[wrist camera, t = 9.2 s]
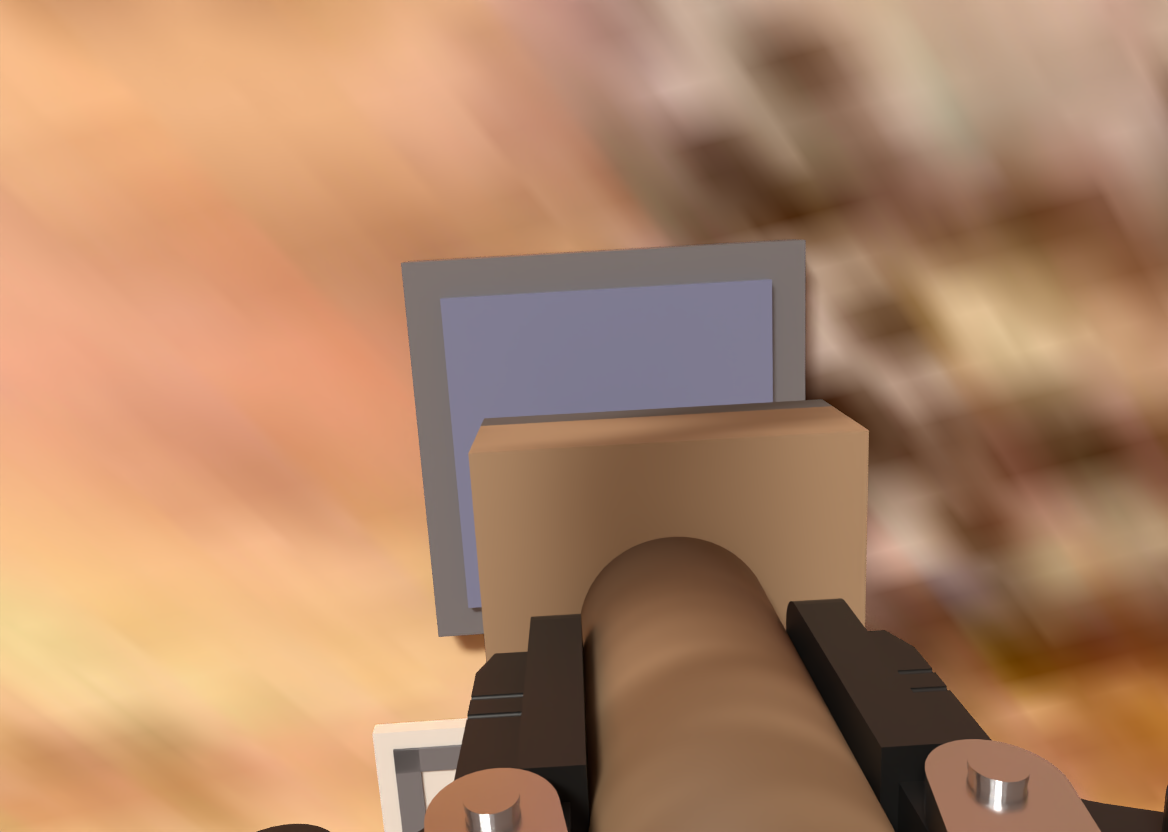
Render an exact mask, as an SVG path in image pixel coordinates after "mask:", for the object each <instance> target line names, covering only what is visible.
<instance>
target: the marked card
mask: <svg viewBox="0 0 1168 832" xmlns="http://www.w3.org/2000/svg"><path fill="white" fill-rule="evenodd" d="M467 719H468V718H464V719H450V720H435V721H420V722H405V723H391V724H376V725H375V728H374V731H373V742H374V750H375V758H376V766H377V775H378V783H379V791H380V799H381V807H382V815H383V823H384V832H418V831H420V830H421V829H423V828H424V819H425V813H426V810H427V808H428V806H429V804H430V802H431V801H432V799H433V798H434V797H435V796H436V795H437V794H438V792H439V791H441V790H442V789H443V788H444V787H446V786H447V785H448V784H450V783H452V782H453V781H454V778H455V773H456V768H457V763H458V759H459V754H460V749H461V744H462V739H463V734H464V729H465V725H466V720H467Z"/></svg>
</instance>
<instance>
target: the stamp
mask: <svg viewBox="0 0 1168 832" xmlns="http://www.w3.org/2000/svg"><path fill="white" fill-rule="evenodd" d="M868 446H869V430H867V429H866V428H864V427H863V426H861V425H860V424H858V423H857V422H855V421H854V420H852V419H851V418H849V417H848V416H846V415H845V414H843V413H842V412H840V411H839V410H837V409H836V408H834V407H833V406H831V405H830V404H828V403H827V402H825V401H824V400H822V399H819V400H801V401H784V402H766V403H748V404H730V405H713V406H695V407H677V408H659V409H642V410H624V411H606V412H588V413H571V414H553V415H535V416H517V417H500V418H484V420H483V422H482V424H481V426H480V429H479V431H478V433H477V435H476V437H475V440H474V442H473V444H472V446H471V449H470V451H469V453H468V455H469V467H470V478H471V490H472V501H473V513H474V525H475V536H476V548H477V560H478V571H479V583H480V594H481V606H482V618H483V629H484V641H485V652H486V662H487V661H488V660H489V659H490V658H491V657H492V656H493V655H494V654H495V653H511V652H527V651H528V640H529V630H530V619H531V617H533V616H550V615H567V614H581V620H582V636H583V656H584V683H585V709H586V736H587V763H588V790H589V817H590V826H589V831H588V832H895V831H894V829H893V827H892V825H891V823H890V821H889V819H888V818H887V816H886V814H885V812H884V810H883V808H882V807H881V805H880V803H879V801H878V799H877V797H876V796H875V794H874V792H873V790H872V788H871V786H870V784H869V783H868V781H867V779H866V777H865V775H864V773H863V772H862V770H861V768H860V766H859V764H858V762H857V761H856V759H855V757H854V755H853V753H852V751H851V750H850V748H849V746H848V744H847V742H846V740H845V738H844V737H843V735H842V733H841V731H840V729H839V727H838V726H837V724H836V722H835V720H834V718H833V716H832V715H831V713H830V711H829V709H828V707H827V705H826V704H825V702H824V700H823V698H822V696H821V694H820V692H819V691H818V689H817V687H816V685H815V683H814V681H813V680H812V678H811V676H810V674H809V672H808V670H807V669H806V667H805V665H804V663H803V661H802V659H801V658H800V656H799V654H798V652H797V650H796V648H795V646H794V645H793V643H792V641H791V639H790V637H789V635H788V634H787V632H786V612H787V606H788V604H789V602H790V601H804V600H821V599H838V598H842V599H844V600H845V602H846V603H847V604H848V606H849V607H850V608H851V610H852V611H853V612H854V614H855V615H856V616H857V618H858V619H859V620H860V622H861V623H862V624H863V626H864V627H865V599H866V548H867V497H868Z"/></svg>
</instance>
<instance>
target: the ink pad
mask: <svg viewBox="0 0 1168 832" xmlns="http://www.w3.org/2000/svg"><path fill="white" fill-rule="evenodd" d="M401 267H402V277H403V287H404V297H405V307H406V317H407V326H408V336H409V346H410V356H411V366H412V376H413V386H414V396H415V406H416V416H417V426H418V436H419V446H420V456H421V466H422V476H423V485H424V495H425V505H426V515H427V525H428V535H429V545H430V555H431V565H432V575H433V585H434V595H435V605H436V615H437V625H438V635H439V637H443V636H459V635H474V634H484V629H483V618H482V606H481V594H480V583H479V571H478V560H477V548H476V536H475V525H474V513H473V501H472V490H471V478H470V467H469V455H468V453H469V451H470V449H471V446H472V444H473V442H474V440H475V437H476V435H477V433H478V431H479V429H480V426H481V424H482V422H483V420H484V418H500V417H517V416H535V415H553V414H571V413H588V412H606V411H624V410H642V409H659V408H677V407H695V406H713V405H730V404H748V403H766V402H784V401H801V400H805V240H796V239H792V240H774V241H757V242H739V243H722V244H704V245H686V246H669V247H651V248H634V249H616V250H599V251H581V252H564V253H546V254H528V255H511V256H493V257H476V258H458V259H441V260H423V261H408V262H403V263H401Z"/></svg>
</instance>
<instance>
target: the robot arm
mask: <svg viewBox="0 0 1168 832" xmlns="http://www.w3.org/2000/svg"><path fill="white" fill-rule="evenodd" d="M786 632H787V634H788V635H789V637H790V639H791V641H792V643H793V645H794V646H795V648H796V650H797V652H798V654H799V656H800V658H801V659H802V661H803V663H804V665H805V667H806V669H807V670H808V672H809V674H810V676H811V678H812V680H813V681H814V683H815V685H816V687H817V689H818V691H819V692H820V694H821V696H822V698H823V700H824V702H825V704H826V705H827V707H828V709H829V711H830V713H831V715H832V716H833V718H834V720H835V722H836V724H837V726H838V727H839V729H840V731H841V733H842V735H843V737H844V738H845V740H846V742H847V744H848V746H849V748H850V750H851V751H852V753H853V755H854V757H855V759H856V761H857V762H858V764H859V766H860V768H861V770H862V772H863V773H864V775H865V777H866V779H867V781H868V783H869V784H870V786H871V788H872V790H873V792H874V794H875V796H876V797H877V799H878V801H879V803H880V805H881V807H882V808H883V810H884V812H885V814H886V816H887V818H888V819H889V821H890V823H891V825H892V827H893V829H894V831H895V832H1168V785H1167V789H1166V796H1165V805H1164V812H1158V811H1151V810H1144V809H1137V808H1131V807H1124V806H1117V805H1110V804H1104V803H1098V802H1093V801H1088V800H1084V799H1080V797H1079V796H1078V794H1077V792H1076V791H1075V789H1074V788H1073V786H1072V785H1071V783H1070V782H1069V780H1068V779H1067V778H1066V776H1065V775H1064V774H1063V773H1062V772H1061V771H1060V770H1059V769H1058V768H1057V767H1055V766H1054V765H1052V764H1051V763H1050V762H1048V761H1047V760H1045V759H1043V758H1042V757H1040V756H1038V755H1036V754H1034V753H1032V752H1030V751H1027V750H1025V749H1022V748H1019V747H1016V746H1014V745H1010V744H1006V743H1002V742H997V741H992V740H991V739H990V738H989V737H988V735H987V734H986V733H985V732H984V731H983V729H982V728H981V727H980V726H979V725H978V723H977V722H976V721H975V720H974V719H973V717H972V716H971V715H970V714H969V713H968V711H967V710H966V709H965V708H964V706H963V705H962V704H961V703H960V702H959V700H958V699H957V698H956V697H955V696H954V694H953V693H952V692H951V691H950V690H949V691H947V687H946V685H945V684H944V682H943V681H942V680H941V679H940V678H939V676H938V675H937V674H936V673H933V672H932V668H931V667H930V665H929V664H928V663H927V662H926V661H925V659H924V658H923V657H922V656H921V655H920V653H919V652H918V651H917V650H916V649H915V647H913V646H911V645H910V644H908V643H906V642H904V641H903V640H901V639H899V638H897V637H896V636H894V635H892V634H890V633H889V632H887V631H885V630H881V631H867V630H866V628H865V627H864V626H863V624H862V623H861V622H860V620H859V619H858V618H857V616H856V615H855V614H854V612H853V611H852V610H851V608H850V607H849V606H848V604H847V603H846V602H845V600H844V599H842V598H838V599H821V600H804V601H790V602H789V604H788V606H787V612H786ZM471 697H472V700H470V705H469V710H468V719H467V720H466V725H465V729H464V734H463V739H462V744H461V749H460V754H459V759H458V763H457V768H456V773H455V778H454V781H453V782H452V783H450V784H448V785H447V786H446V787H444V788H443V789H442V790H441V791H439V792H438V794H437V795H436V796H435V797H434V798H433V799H432V801H431V802H430V804H429V806H428V808H427V810H426V813H425V819H424V828H423V829H421V830H420V831H418V832H588V831H589V826H590V817H589V790H588V763H587V736H586V709H585V683H584V656H583V636H582V620H581V614H567V615H550V616H533V617H531V619H530V630H529V640H528V651H527V652H511V653H495V654H494V655H493V656H492V657H491V658H490V659H489V660H488V661H487V662H486V663H485V665H484V666H483V667H482V668H481V669H480V670H479V671H478V672H477V673H476V676H475V681H474V686H473V691H472V696H471ZM257 832H330V831H328V830H326V829H324V828H321V827H318V826H314V825H309V824H287V825H280V826H275V827H270V828H267V829H264V830H260V831H257Z"/></svg>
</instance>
